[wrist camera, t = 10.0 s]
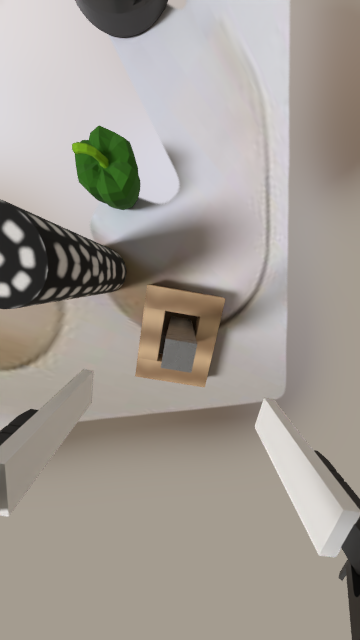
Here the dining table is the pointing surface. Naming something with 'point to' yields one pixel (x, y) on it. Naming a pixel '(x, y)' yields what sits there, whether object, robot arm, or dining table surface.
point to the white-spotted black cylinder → (51, 262)
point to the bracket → (179, 345)
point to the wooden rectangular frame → (152, 330)
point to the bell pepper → (108, 168)
